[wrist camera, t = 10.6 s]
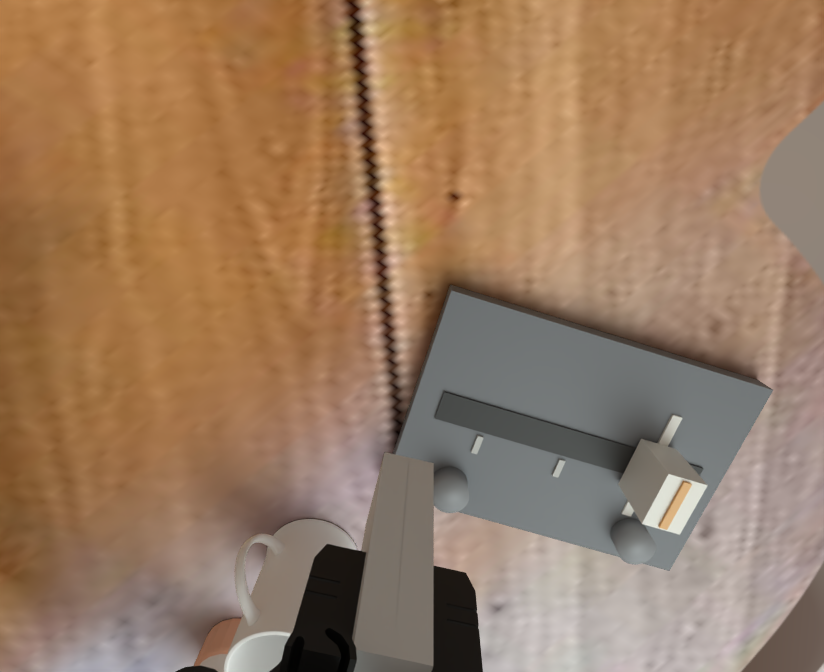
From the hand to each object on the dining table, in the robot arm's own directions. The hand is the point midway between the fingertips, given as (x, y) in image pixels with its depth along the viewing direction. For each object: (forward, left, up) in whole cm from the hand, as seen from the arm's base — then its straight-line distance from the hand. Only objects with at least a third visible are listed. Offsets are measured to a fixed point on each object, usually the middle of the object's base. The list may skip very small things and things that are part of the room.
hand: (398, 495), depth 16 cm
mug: (+26, -3, -27) cm, 37 cm away
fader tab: (+8, +22, -24) cm, 33 cm away
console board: (+8, +15, -26) cm, 31 cm away
